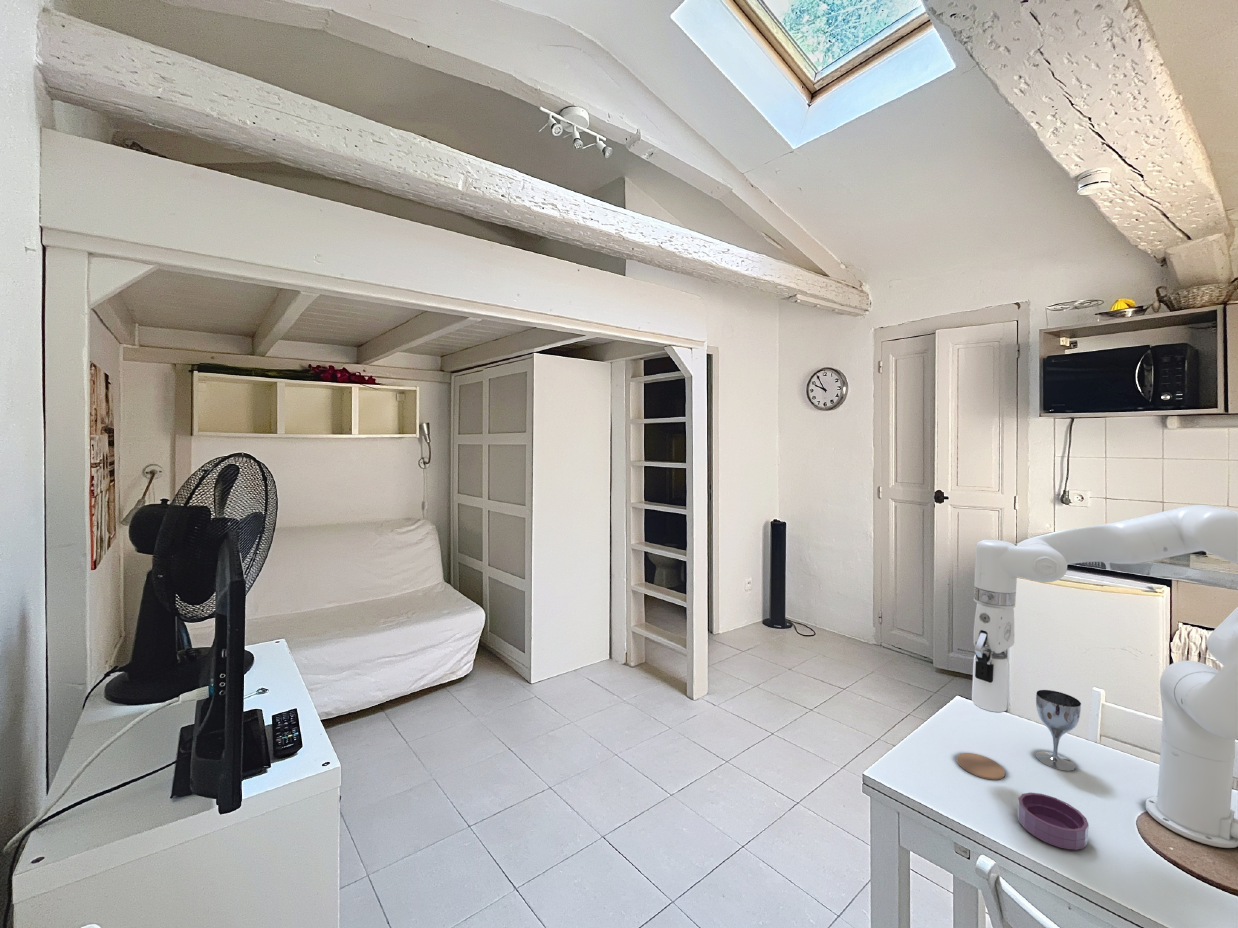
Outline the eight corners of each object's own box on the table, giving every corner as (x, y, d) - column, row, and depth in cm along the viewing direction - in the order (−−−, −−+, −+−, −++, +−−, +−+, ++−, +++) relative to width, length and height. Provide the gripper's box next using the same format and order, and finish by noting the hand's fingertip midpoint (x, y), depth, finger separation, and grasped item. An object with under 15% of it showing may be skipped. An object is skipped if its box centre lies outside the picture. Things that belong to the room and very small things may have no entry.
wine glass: (1073, 757, 123) (1077, 695, 122) (1080, 775, 116) (1084, 710, 116) (1031, 746, 127) (1034, 686, 127) (1035, 763, 121) (1038, 700, 120)
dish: (1094, 835, 99) (1095, 815, 99) (1077, 860, 93) (1078, 839, 93) (1028, 804, 107) (1029, 785, 107) (1009, 825, 101) (1010, 805, 101)
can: (1013, 714, 113) (1016, 660, 112) (980, 711, 114) (982, 658, 114) (997, 700, 119) (1000, 648, 119) (966, 697, 121) (968, 646, 120)
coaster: (1011, 769, 118) (1011, 768, 118) (995, 784, 113) (995, 783, 113) (966, 750, 126) (966, 748, 126) (949, 763, 121) (949, 761, 121)
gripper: (998, 608, 107) (994, 693, 108) (1029, 594, 117) (1025, 671, 118) (958, 599, 114) (954, 679, 115) (990, 586, 124) (986, 660, 125)
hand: (990, 674), depth 116 cm, fingers closed on can, 6 cm apart
